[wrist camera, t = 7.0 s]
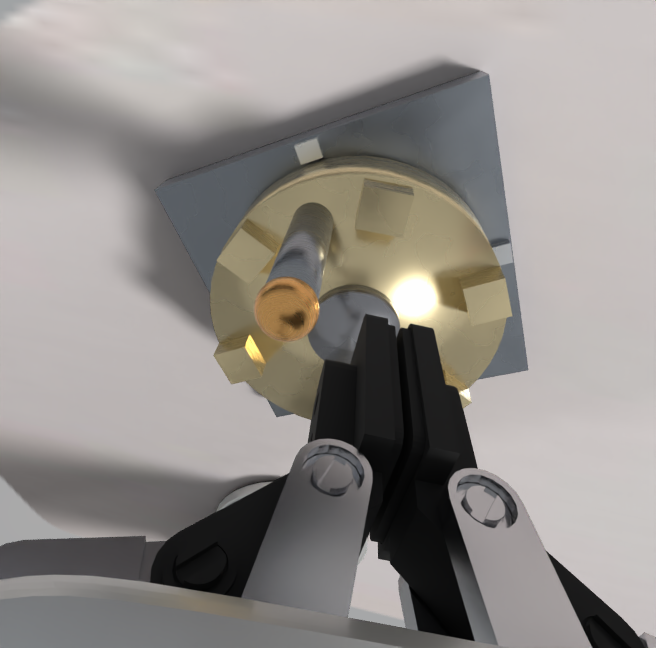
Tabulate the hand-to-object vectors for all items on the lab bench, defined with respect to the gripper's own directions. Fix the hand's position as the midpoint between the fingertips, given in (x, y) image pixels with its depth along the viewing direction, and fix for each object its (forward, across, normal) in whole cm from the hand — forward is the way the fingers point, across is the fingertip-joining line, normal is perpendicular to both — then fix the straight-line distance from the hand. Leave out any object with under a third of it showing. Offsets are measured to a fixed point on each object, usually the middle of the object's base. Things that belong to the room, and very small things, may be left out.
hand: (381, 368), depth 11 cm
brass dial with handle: (+11, 0, +4) cm, 12 cm away
